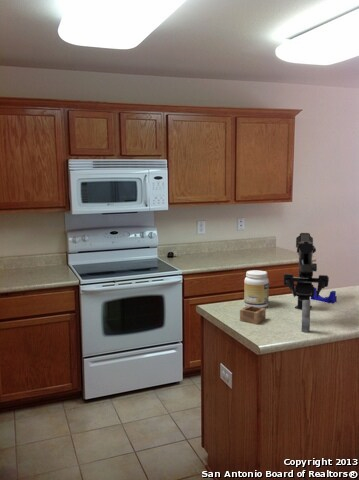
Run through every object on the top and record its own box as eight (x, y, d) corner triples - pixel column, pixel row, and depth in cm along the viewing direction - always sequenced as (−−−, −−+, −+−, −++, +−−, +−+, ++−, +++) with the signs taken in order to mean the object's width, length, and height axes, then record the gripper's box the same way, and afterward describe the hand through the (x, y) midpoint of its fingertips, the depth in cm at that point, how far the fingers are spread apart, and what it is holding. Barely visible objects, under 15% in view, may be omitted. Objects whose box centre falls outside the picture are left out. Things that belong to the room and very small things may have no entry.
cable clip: (336, 302, 214) (337, 290, 213) (332, 304, 211) (333, 292, 210) (314, 297, 223) (315, 286, 222) (310, 299, 220) (310, 288, 219)
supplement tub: (268, 309, 204) (269, 275, 201) (243, 308, 206) (243, 274, 204) (268, 302, 216) (268, 269, 213) (244, 301, 218) (244, 269, 216)
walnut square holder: (248, 315, 195) (248, 305, 194) (265, 319, 190) (265, 308, 189) (240, 320, 188) (240, 310, 188) (256, 324, 183) (256, 313, 182)
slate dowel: (303, 329, 176) (304, 299, 175) (310, 330, 175) (311, 300, 173) (300, 331, 174) (301, 301, 172) (307, 333, 172) (308, 302, 170)
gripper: (284, 255, 184) (283, 286, 175) (329, 257, 179) (330, 288, 170) (284, 269, 192) (283, 299, 183) (326, 271, 188) (328, 301, 179)
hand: (305, 297), depth 179 cm, fingers open, 9 cm apart
